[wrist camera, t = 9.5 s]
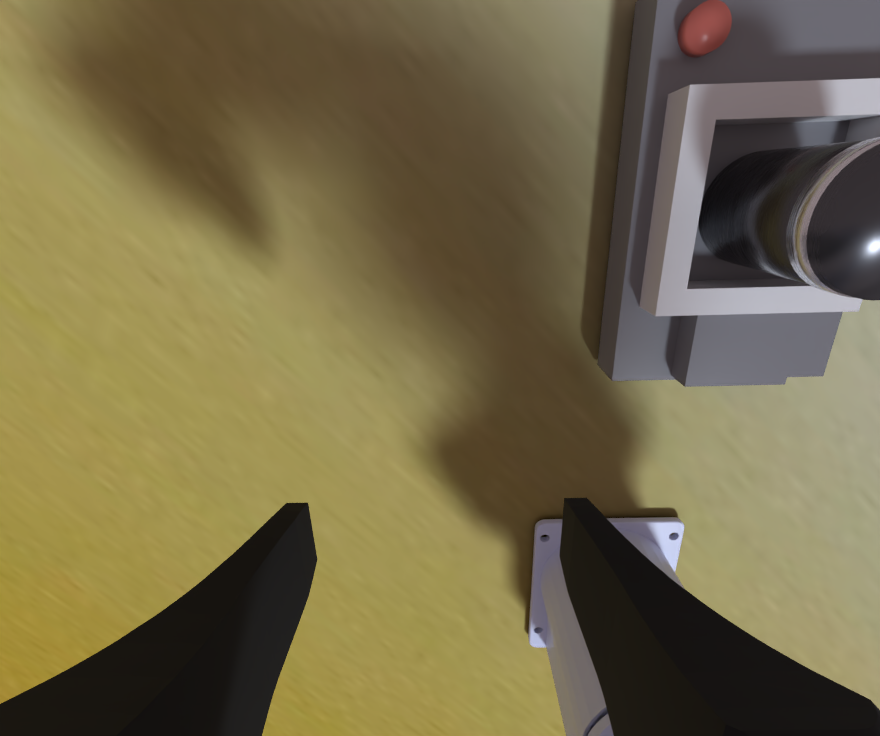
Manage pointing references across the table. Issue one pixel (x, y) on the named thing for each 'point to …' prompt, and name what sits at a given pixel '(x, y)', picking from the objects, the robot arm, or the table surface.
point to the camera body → (699, 162)
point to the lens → (801, 215)
